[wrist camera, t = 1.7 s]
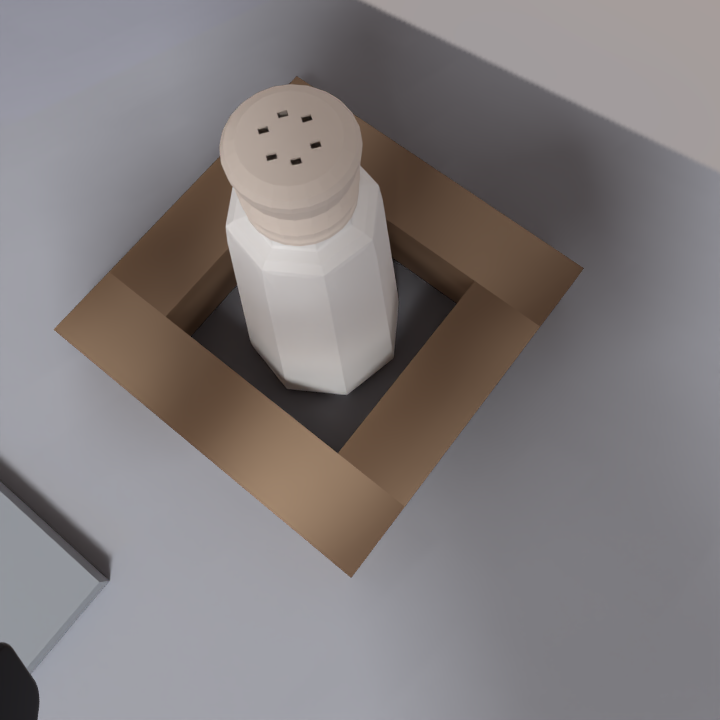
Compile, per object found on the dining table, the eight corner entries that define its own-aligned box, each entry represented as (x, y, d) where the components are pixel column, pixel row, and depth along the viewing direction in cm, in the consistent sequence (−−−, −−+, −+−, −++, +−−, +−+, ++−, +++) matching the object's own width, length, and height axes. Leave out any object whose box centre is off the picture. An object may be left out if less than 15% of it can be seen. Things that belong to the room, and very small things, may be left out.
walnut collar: (561, 297, 23) (583, 268, 21) (353, 574, 21) (351, 577, 18) (303, 120, 25) (296, 76, 23) (86, 352, 23) (53, 329, 20)
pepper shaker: (234, 277, 24) (124, 59, 13) (377, 238, 24) (382, -5, 13) (271, 418, 22) (181, 301, 12) (422, 374, 23) (469, 222, 12)
